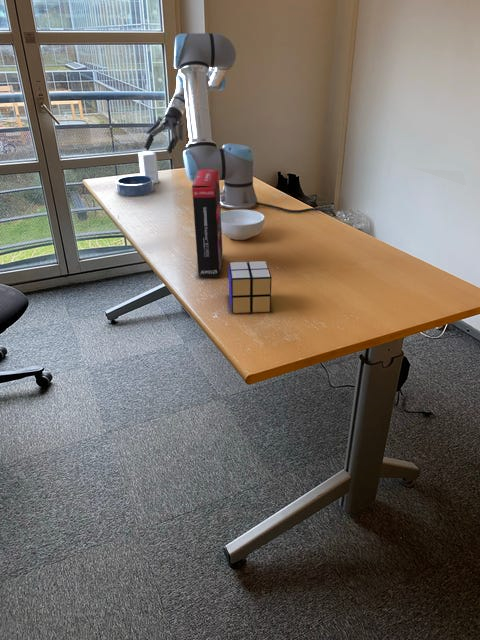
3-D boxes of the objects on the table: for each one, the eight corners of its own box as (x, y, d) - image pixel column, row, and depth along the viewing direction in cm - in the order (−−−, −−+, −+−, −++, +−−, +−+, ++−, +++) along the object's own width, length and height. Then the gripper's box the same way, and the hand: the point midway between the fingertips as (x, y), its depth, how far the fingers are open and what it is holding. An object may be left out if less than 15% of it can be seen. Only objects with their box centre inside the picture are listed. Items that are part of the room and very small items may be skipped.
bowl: (159, 188, 226) (158, 176, 223) (143, 198, 213) (142, 186, 210) (128, 185, 230) (126, 174, 228) (110, 195, 217) (109, 183, 215)
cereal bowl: (271, 231, 178) (272, 212, 175) (252, 248, 165) (253, 227, 162) (228, 224, 184) (228, 206, 181) (207, 240, 171) (206, 220, 168)
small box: (159, 183, 233) (156, 154, 226) (145, 184, 231) (142, 155, 224) (153, 178, 239) (151, 150, 233) (140, 180, 237) (137, 151, 230)
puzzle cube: (229, 295, 137) (228, 262, 131) (265, 294, 137) (266, 260, 132) (231, 314, 128) (231, 278, 123) (270, 312, 129) (271, 277, 124)
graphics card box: (220, 279, 145) (217, 185, 132) (196, 279, 146) (191, 185, 132) (222, 255, 160) (220, 168, 146) (201, 255, 160) (196, 168, 146)
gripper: (200, 118, 234) (182, 158, 231) (159, 114, 246) (141, 152, 243) (192, 108, 228) (174, 148, 224) (150, 104, 239) (132, 142, 236)
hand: (157, 150), depth 234 cm, fingers open, 13 cm apart
